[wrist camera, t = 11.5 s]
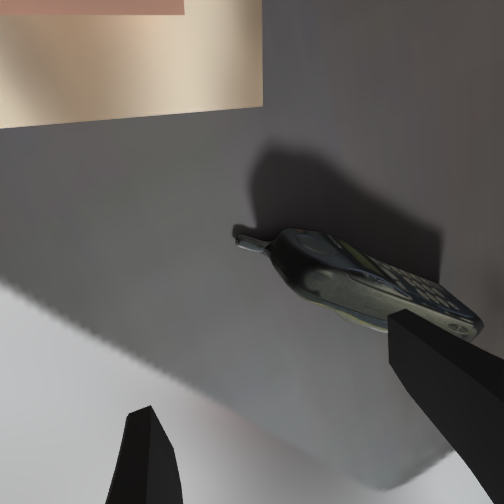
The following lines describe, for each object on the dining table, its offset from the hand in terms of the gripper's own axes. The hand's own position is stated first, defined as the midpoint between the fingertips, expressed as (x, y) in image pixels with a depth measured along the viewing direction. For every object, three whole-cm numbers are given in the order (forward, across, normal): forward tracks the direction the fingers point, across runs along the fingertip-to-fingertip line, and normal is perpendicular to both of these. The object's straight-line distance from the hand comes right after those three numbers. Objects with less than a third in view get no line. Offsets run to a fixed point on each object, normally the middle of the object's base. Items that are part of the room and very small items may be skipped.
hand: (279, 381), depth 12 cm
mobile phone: (+11, -7, +6) cm, 14 cm away
